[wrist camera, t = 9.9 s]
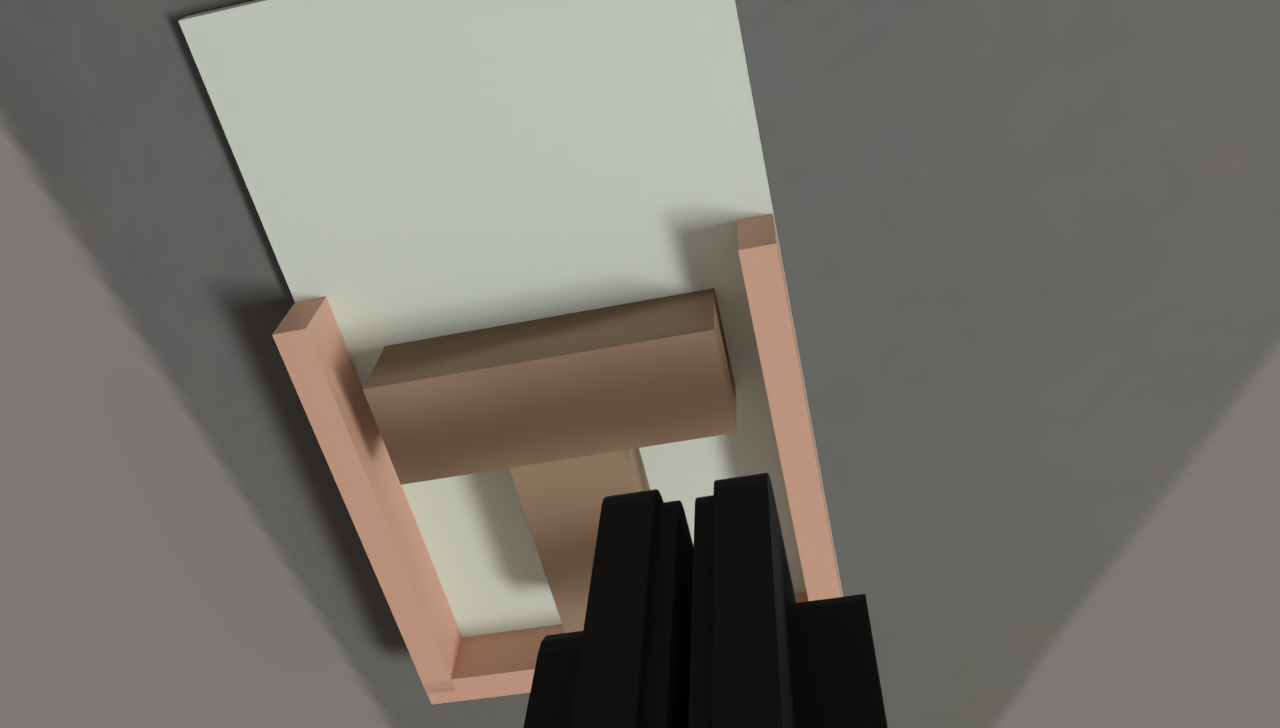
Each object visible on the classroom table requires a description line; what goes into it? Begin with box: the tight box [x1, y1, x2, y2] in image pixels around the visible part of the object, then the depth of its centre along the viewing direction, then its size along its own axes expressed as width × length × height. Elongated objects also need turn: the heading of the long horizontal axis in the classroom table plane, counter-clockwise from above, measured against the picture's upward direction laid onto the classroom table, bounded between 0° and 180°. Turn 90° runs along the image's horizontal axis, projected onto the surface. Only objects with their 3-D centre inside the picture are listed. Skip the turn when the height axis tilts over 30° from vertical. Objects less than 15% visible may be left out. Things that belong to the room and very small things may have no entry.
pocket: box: [272, 214, 843, 704], centre depth 42 cm, size 17×17×2 cm
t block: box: [363, 288, 737, 633], centre depth 42 cm, size 12×12×3 cm
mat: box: [178, 0, 843, 637], centre depth 41 cm, size 28×17×1 cm, turn 13°
